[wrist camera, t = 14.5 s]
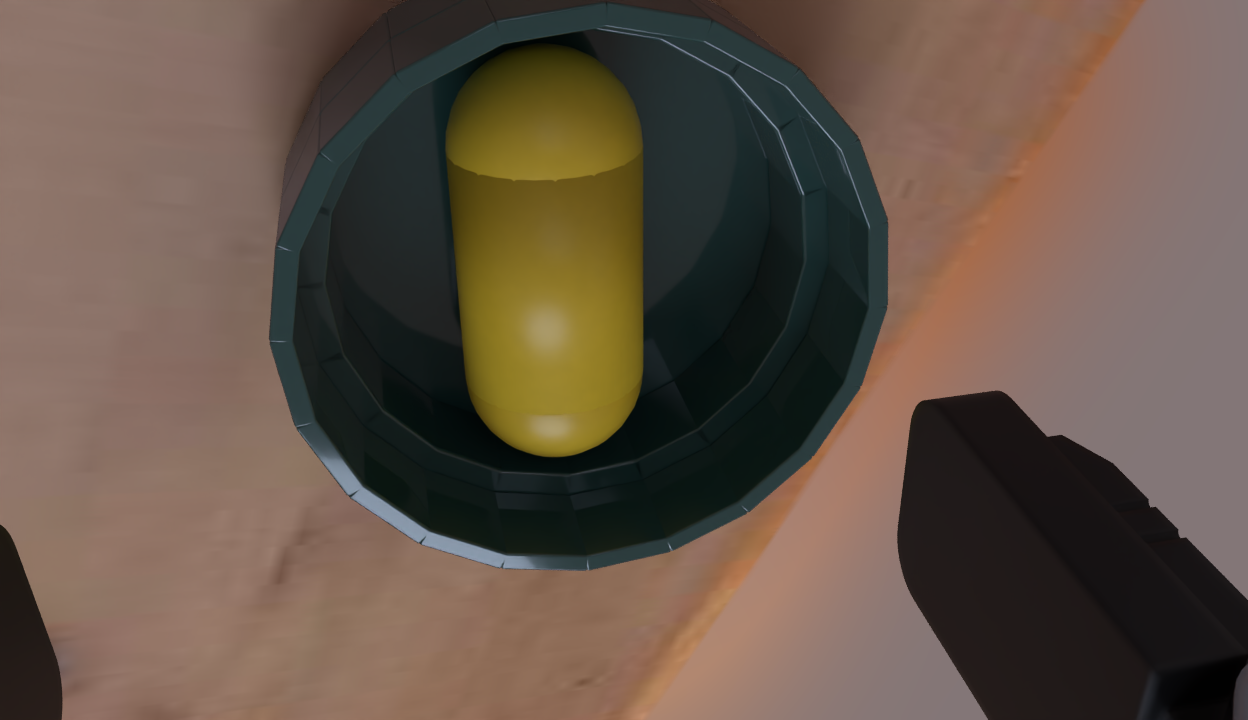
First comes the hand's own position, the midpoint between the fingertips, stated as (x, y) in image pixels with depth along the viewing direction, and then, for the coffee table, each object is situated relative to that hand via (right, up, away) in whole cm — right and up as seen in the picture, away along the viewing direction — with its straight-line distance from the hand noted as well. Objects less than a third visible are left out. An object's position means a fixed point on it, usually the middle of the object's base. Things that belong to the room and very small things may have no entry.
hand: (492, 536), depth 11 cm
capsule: (+1, +5, +19) cm, 20 cm away
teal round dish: (-1, +5, +21) cm, 21 cm away
